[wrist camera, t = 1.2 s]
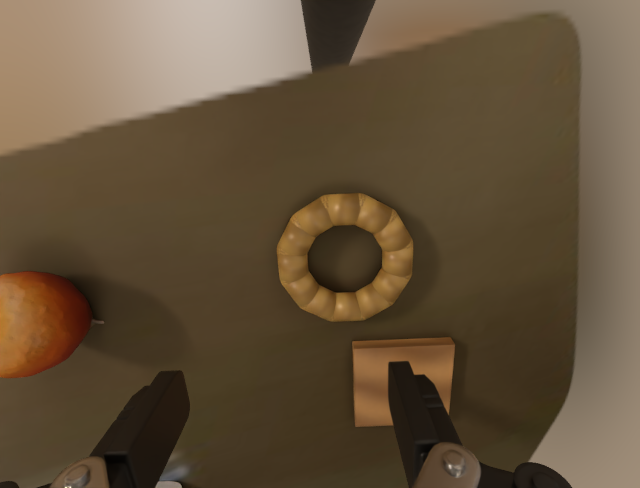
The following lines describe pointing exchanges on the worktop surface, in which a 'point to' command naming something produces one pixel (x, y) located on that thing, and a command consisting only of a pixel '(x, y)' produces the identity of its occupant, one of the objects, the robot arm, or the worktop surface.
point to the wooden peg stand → (373, 373)
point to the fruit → (39, 322)
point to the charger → (168, 484)
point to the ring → (337, 213)
